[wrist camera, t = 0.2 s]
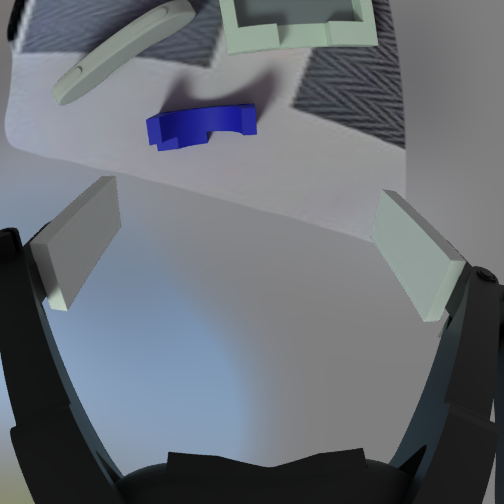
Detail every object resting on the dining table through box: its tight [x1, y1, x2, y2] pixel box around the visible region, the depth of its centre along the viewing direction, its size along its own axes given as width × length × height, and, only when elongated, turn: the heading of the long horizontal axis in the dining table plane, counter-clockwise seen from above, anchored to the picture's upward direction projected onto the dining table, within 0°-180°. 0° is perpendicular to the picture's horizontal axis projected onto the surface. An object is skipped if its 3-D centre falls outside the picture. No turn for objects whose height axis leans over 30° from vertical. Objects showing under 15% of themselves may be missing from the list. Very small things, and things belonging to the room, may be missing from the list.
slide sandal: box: [52, 0, 196, 106], centre depth 28 cm, size 20×2×8 cm, turn 117°
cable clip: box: [146, 104, 257, 151], centre depth 35 cm, size 12×4×6 cm, turn 93°
